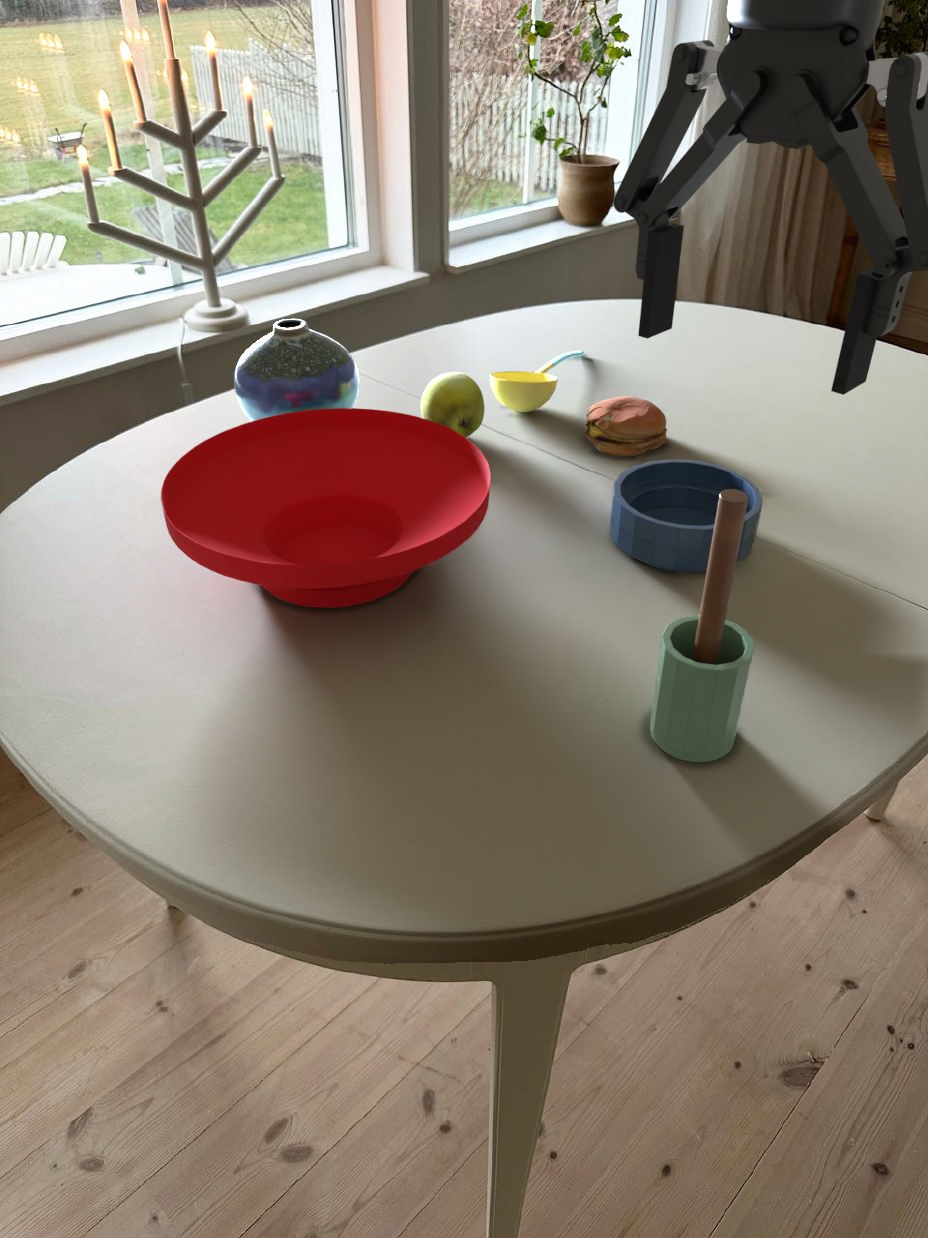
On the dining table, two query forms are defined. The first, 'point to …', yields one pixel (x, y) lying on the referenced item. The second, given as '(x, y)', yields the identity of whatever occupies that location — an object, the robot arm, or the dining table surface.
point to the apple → (454, 403)
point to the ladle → (527, 386)
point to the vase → (295, 373)
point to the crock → (699, 692)
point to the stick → (719, 575)
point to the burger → (625, 426)
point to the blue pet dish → (677, 512)
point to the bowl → (326, 502)
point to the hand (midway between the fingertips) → (745, 358)
